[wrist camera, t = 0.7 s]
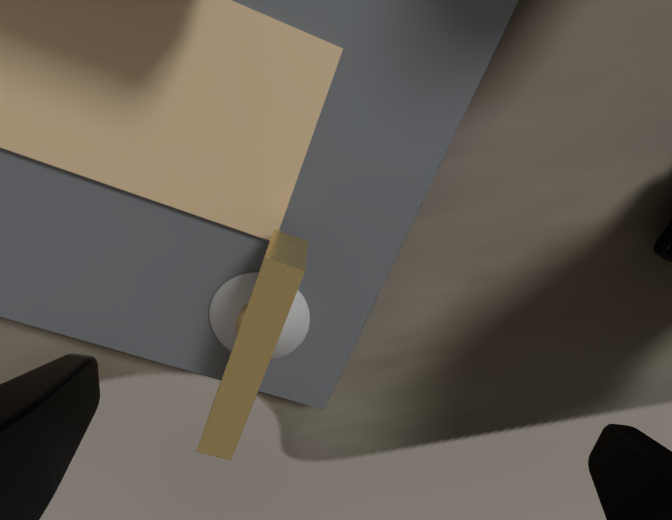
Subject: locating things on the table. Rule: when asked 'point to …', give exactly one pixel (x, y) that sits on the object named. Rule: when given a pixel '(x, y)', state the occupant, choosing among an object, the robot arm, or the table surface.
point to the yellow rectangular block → (255, 342)
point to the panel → (222, 164)
